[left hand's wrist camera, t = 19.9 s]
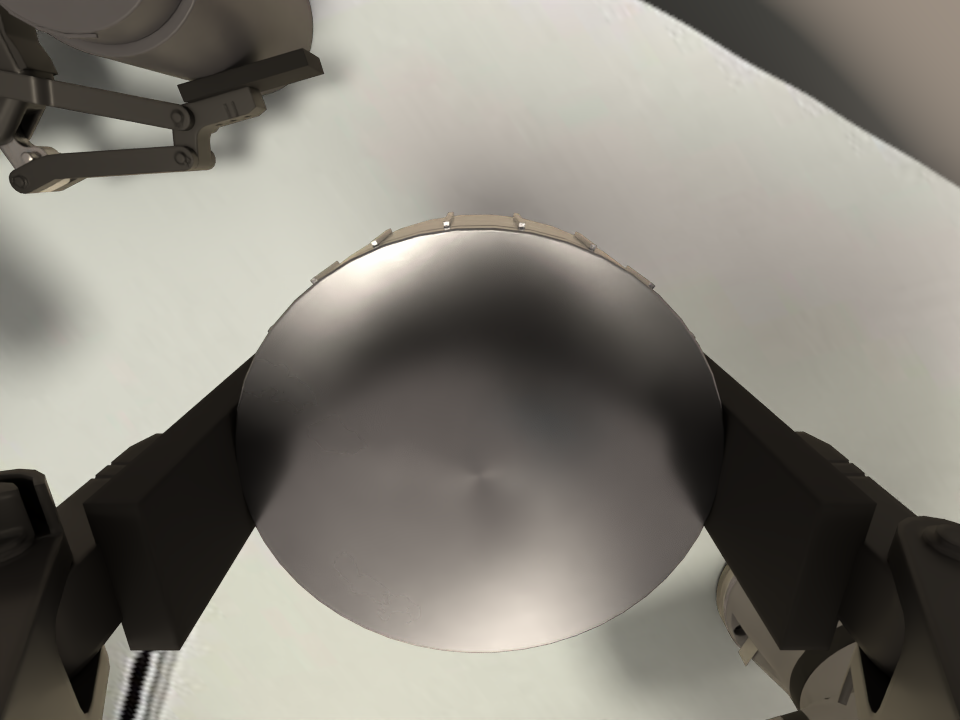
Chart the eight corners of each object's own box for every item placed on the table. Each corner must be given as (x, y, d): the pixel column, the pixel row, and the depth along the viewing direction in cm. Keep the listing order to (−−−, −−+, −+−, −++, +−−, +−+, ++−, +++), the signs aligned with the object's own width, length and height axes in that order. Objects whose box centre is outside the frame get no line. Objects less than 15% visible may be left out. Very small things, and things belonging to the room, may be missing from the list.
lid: (467, 637, 14) (465, 715, 12) (187, 409, 12) (126, 461, 10) (764, 435, 12) (822, 491, 10) (496, 101, 10) (501, 87, 8)
